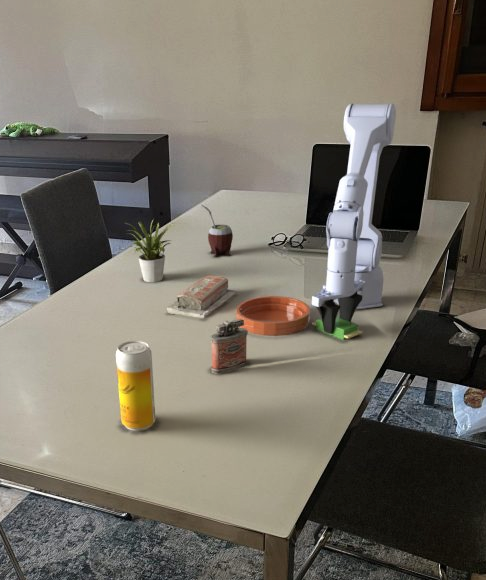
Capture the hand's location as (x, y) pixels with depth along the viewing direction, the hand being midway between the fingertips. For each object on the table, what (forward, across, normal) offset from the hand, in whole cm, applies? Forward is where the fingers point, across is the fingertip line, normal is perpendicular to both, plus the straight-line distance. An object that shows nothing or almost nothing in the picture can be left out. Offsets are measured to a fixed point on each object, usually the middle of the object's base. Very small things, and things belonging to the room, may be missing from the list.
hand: (336, 329), depth 160 cm
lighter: (+1, +28, -3) cm, 28 cm away
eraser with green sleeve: (+1, 0, 0) cm, 1 cm away
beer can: (+1, +55, +4) cm, 55 cm away
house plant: (+1, +9, -59) cm, 59 cm away
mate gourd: (+1, -18, -62) cm, 65 cm away
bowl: (+1, +6, -14) cm, 15 cm away
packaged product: (+1, +10, -34) cm, 35 cm away
